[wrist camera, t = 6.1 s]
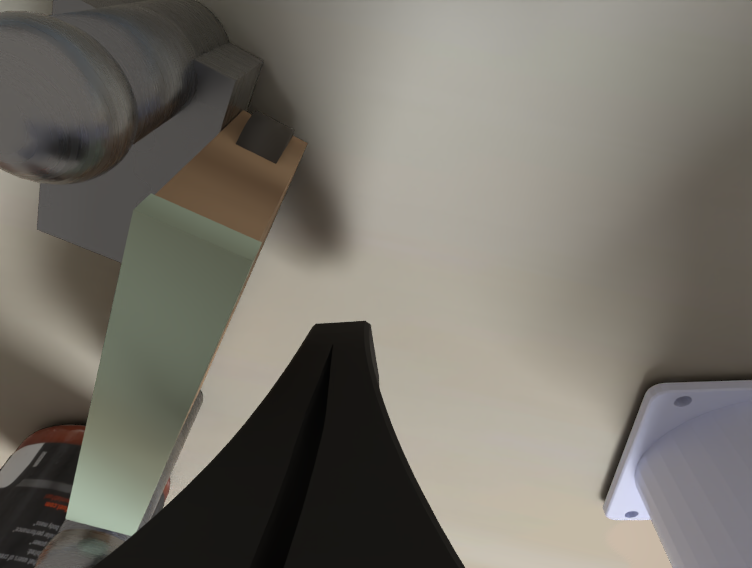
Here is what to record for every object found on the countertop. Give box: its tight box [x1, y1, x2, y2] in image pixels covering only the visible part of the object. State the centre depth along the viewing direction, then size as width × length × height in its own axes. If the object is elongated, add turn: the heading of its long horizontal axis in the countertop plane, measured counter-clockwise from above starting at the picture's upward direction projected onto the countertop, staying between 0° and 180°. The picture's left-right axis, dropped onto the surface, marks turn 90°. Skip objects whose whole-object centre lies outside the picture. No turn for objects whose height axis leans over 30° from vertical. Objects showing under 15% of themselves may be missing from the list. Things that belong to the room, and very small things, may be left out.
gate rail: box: [66, 110, 308, 536], centre depth 10 cm, size 10×2×5 cm, turn 152°
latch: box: [0, 0, 263, 263], centre depth 8 cm, size 6×3×6 cm, turn 152°
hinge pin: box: [34, 391, 203, 568], centre depth 13 cm, size 2×2×7 cm
